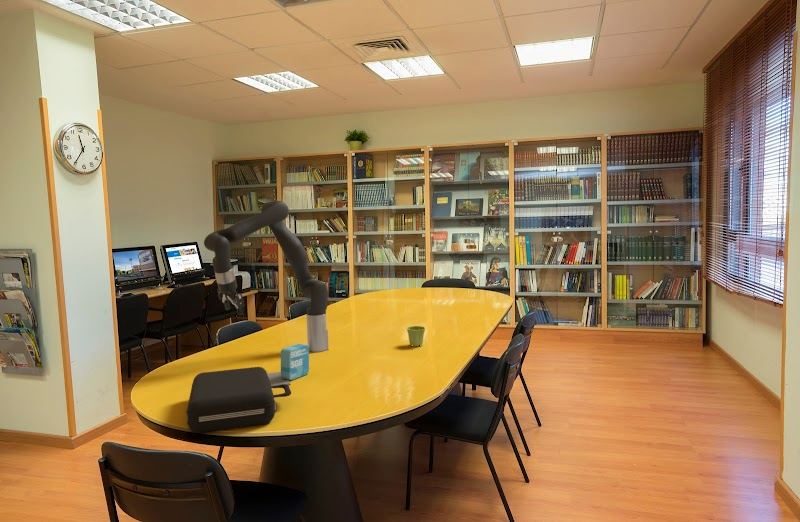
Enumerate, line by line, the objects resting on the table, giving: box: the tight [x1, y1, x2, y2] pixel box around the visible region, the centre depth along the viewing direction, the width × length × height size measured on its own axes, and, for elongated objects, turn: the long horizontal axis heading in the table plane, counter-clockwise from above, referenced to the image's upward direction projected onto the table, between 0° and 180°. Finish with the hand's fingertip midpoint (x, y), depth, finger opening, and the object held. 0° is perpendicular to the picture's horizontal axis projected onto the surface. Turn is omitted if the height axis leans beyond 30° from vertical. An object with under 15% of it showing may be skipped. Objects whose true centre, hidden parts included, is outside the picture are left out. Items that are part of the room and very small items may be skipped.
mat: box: [267, 371, 291, 386], centre depth 205 cm, size 14×18×1 cm
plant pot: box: [406, 325, 426, 347], centre depth 256 cm, size 9×9×9 cm
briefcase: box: [185, 366, 292, 434], centre depth 174 cm, size 36×32×10 cm
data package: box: [280, 343, 310, 381], centre depth 209 cm, size 12×4×12 cm, turn 152°
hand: (234, 311), depth 229 cm, fingers open, 8 cm apart
